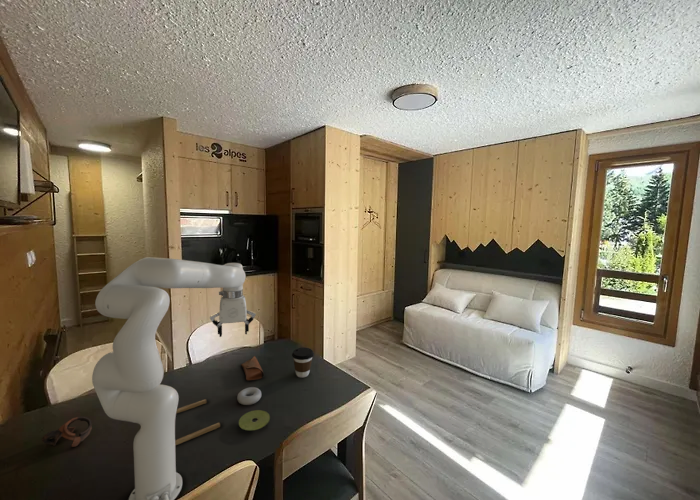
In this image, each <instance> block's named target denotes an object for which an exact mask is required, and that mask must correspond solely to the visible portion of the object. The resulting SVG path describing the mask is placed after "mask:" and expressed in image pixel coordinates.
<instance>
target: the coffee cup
mask: <svg viewBox="0 0 700 500" xmlns="http://www.w3.org/2000/svg"><path fill="white" fill-rule="evenodd" d="M314 355H315V353H314V350H313V349H311V348H309V347H298V348H296V349H294V350H293V351H292V353H291V357H292V359H293V367H294V370H295V371H294V372H295V376H296V377H298V378H306V377H308V376H309V374H310V371H311V368H312V367H311V366H312V362H313V357H314Z"/></svg>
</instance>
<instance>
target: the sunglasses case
mask: <svg viewBox="0 0 700 500" xmlns="http://www.w3.org/2000/svg"><path fill="white" fill-rule="evenodd" d="M240 366H241V367H242V369H243V372H244V374H245V380H246V381H255V380H256V381H257V380H261V379H263V378H264V376H265V373H264V371H263V368H262V366H261V364H260V362H259V361H258V358H257V357H256V356H255V355H254V356H253V357H251V358H249V359H248V360H246V361H245V362H243V363H241V364H240Z"/></svg>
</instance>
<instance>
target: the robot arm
mask: <svg viewBox="0 0 700 500" xmlns="http://www.w3.org/2000/svg"><path fill="white" fill-rule="evenodd" d="M243 268H244V266H243V265H242V264H241V263H239V262H227V263H224V264H216V263H210V262H203V261H194V260H186V259H179V258H170V257H169V258H167V257H153V256H152V257H151V256H150V257H149V256H147V257H143V258H140V259H139V260H137V261H135V262H133V263H132V264H130V265H129V266H128V267H126V268H125V269H124V270H122V272H120V273H119V274H118V275H116V276H115V277H114V278H112V279H111V280H110V281H109V282H108V283H107V284H105V285H104V286H103V287H102V288H101V289H100V291H98V294H97V296H96V298H95V302H94V303H95V304H94V306H95V309H96V310H97V312H98V313H99V314H100V315H102V316H104V317H108V318H113V319H121V320H122V319H123V320H126V321H125V322H124V324H123V326H122V327H121V329H119V331H118V332H117V333H116V335H115V337H114V339H113V342H112V351H109V352H108V353H105V354H104V355H103V356H101V357H100V358H99V360H97V362H96V364H95V366H94V368H93V371H92V375H91V381H92V386H93V389H94V392H95V393H96V396H97V398H98V400H99V403H100V405H101V407H102V410H103V412H104V413H105V414H106V416H107V417H109V418H110V419H113V420H115V421H116V420H117V421H123V422H129V423H134V424H138V425H139V426H140V428H139V430H138V431H137V432H136V434H135V435H134V438H133V441H132V442H133V443H132V447H133V449H132V450H133V472H134V473H133V474H134V476H133V477H134V488H133V490H132V491H131V493H130V495H129V497H128V500H175V499H176V498H177V497H178V496H179V495H180V492H181V491H182V488H183V477H182V475H181V474H180V473H178V472H177V466H176V464H177V463H176V461H177V460H176V459H177V458H176V446H175V440H176V418H177V417H176V416H177V414H176V411H177V409H178V406H179V401H180V400H179V398H180V396H179V393H178V391H177V389H175V388H174V387H172V386H170V385H166V384H161V383H162V381H163V380H164V376H165V375H164V374H165V372H164V365H163V362H162V358H161V355H160V351H159V349H158V346H157V341H156V335H157V330H158V328H159V326H160V324H161V322H162V320H163V319H164V317H165V316H166V314H167V312H168V310H169V307H170V302H171V301H170V300H171V297H170V295H169V293H168V292H167V291H166V290H165V289H216V288H217V289H218V288H219V289H220V288H221V289H222V290H221V291H218V295H219V296H221V298H220V301H219V310H218V311H217V312H215V313H213V314H211V315H210V316H209V319H210V321H211V322H212V324H213V325H214V326H215V327H216V328H217V335H219V338H221V337H223V336H222V335H223V324H234V323H244V335H248V332H249V331H250V329H249V328H250V324H251V323H252V322H253V321H254V319H255V317H256V315H257V313H256V311H252V310H250V309H248V308H247V300H246V297H245V295H244V283H245V281H246V276H247V275H246V272H245V270H244V269H243ZM247 315H250V317H249V318H248V316H247ZM217 317H218V320H217V319H216V318H217Z"/></svg>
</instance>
